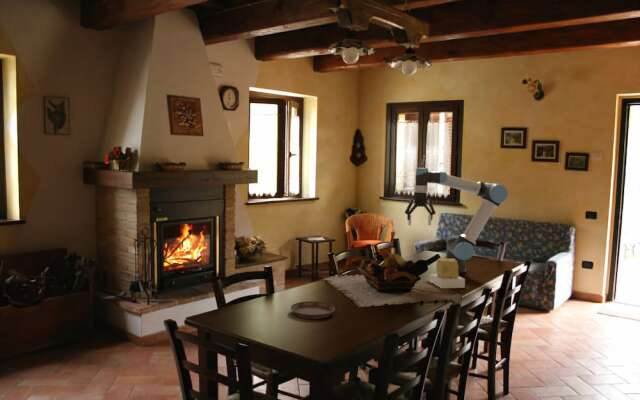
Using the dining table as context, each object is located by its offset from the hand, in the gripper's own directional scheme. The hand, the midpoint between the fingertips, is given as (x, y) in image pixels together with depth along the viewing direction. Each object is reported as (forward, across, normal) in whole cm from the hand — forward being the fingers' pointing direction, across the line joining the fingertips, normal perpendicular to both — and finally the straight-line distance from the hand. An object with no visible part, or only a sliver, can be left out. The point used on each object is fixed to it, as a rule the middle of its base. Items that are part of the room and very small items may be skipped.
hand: (419, 225), depth 341 cm
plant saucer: (+32, +85, +77) cm, 119 cm away
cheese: (+27, -6, +30) cm, 41 cm away
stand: (+32, -6, +30) cm, 44 cm away
